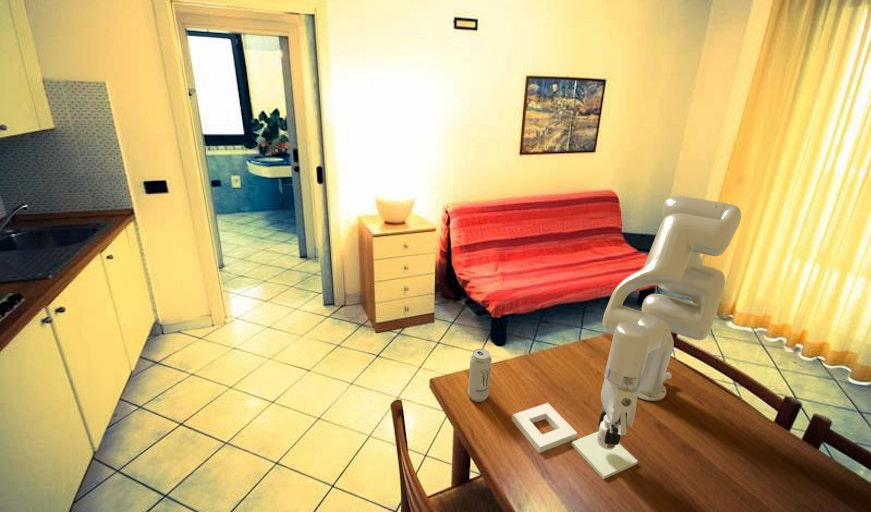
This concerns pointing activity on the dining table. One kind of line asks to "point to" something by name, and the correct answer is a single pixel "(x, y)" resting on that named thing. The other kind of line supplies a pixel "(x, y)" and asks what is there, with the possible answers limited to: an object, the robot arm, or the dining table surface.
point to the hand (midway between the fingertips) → (608, 434)
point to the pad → (603, 456)
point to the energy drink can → (479, 375)
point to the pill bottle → (602, 433)
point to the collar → (547, 440)
